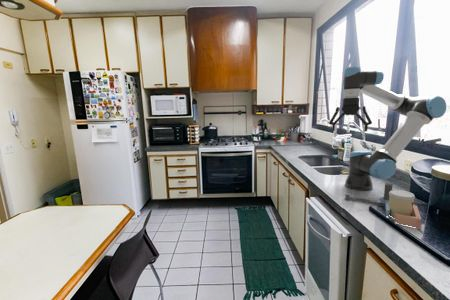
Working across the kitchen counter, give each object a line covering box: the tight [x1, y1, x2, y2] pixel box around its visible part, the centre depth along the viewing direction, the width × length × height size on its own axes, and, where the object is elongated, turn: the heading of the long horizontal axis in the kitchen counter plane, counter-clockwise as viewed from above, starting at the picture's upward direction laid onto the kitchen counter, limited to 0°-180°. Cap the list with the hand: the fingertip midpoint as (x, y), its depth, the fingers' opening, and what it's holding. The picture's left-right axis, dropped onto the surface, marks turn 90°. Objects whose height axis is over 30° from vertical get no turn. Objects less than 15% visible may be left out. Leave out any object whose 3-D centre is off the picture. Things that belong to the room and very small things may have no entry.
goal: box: [394, 203, 422, 229], centre depth 102 cm, size 16×9×4 cm, turn 146°
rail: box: [344, 192, 385, 207], centre depth 119 cm, size 2×26×3 cm, turn 56°
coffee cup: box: [389, 189, 416, 218], centre depth 103 cm, size 9×9×12 cm
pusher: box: [379, 182, 394, 218], centre depth 109 cm, size 18×6×11 cm, turn 146°
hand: (348, 137), depth 123 cm, fingers open, 13 cm apart
